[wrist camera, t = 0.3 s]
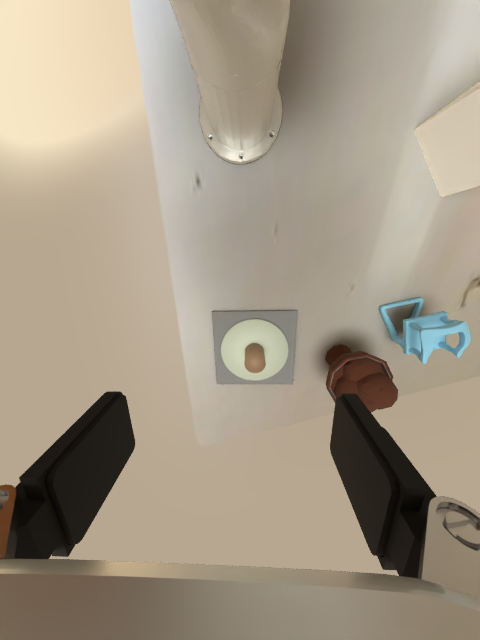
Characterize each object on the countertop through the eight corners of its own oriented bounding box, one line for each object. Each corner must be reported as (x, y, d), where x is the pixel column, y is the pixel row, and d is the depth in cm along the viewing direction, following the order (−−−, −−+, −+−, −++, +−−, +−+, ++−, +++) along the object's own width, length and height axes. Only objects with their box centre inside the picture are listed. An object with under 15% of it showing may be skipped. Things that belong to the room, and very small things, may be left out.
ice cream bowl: (328, 325, 45) (364, 363, 31) (375, 345, 46) (431, 390, 32) (303, 367, 49) (326, 418, 35) (348, 385, 50) (388, 441, 36)
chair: (380, 343, 46) (422, 376, 35) (378, 305, 44) (423, 328, 32) (419, 335, 45) (476, 366, 34) (420, 296, 43) (482, 316, 31)
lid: (219, 318, 45) (215, 329, 40) (289, 318, 45) (294, 328, 39) (223, 378, 50) (219, 395, 44) (286, 378, 49) (290, 395, 44)
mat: (212, 311, 45) (211, 311, 45) (296, 310, 45) (297, 310, 44) (217, 382, 51) (216, 384, 50) (292, 382, 50) (292, 384, 49)
